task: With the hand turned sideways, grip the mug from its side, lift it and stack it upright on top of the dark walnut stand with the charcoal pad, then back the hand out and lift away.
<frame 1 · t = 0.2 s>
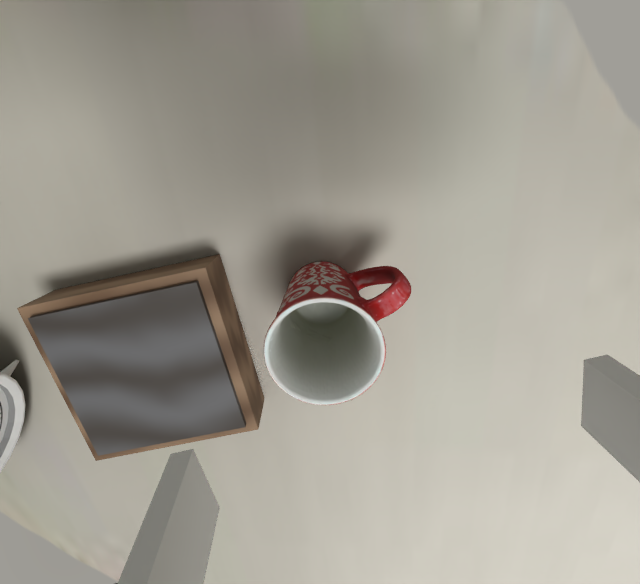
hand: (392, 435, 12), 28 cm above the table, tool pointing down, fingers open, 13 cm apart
mug: (334, 285, 40), on the table
walnut stand: (166, 347, 42), on the table
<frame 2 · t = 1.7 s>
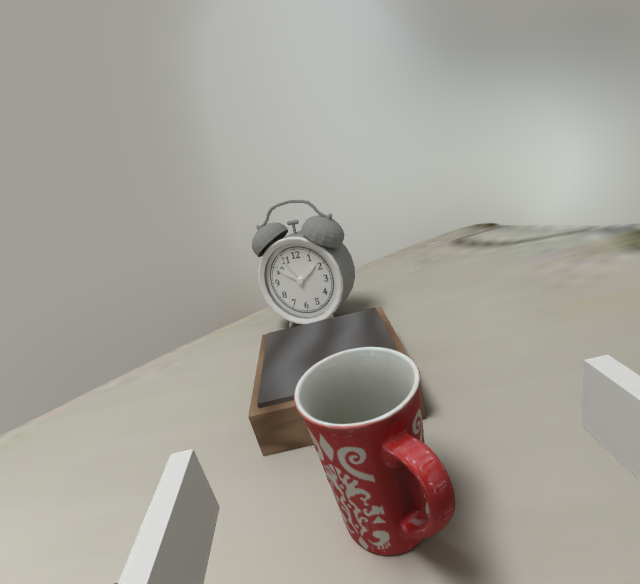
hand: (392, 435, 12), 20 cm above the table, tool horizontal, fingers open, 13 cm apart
alarm clock: (318, 321, 68), on the table
mug: (398, 530, 30), on the table
walnut stand: (335, 387, 48), on the table
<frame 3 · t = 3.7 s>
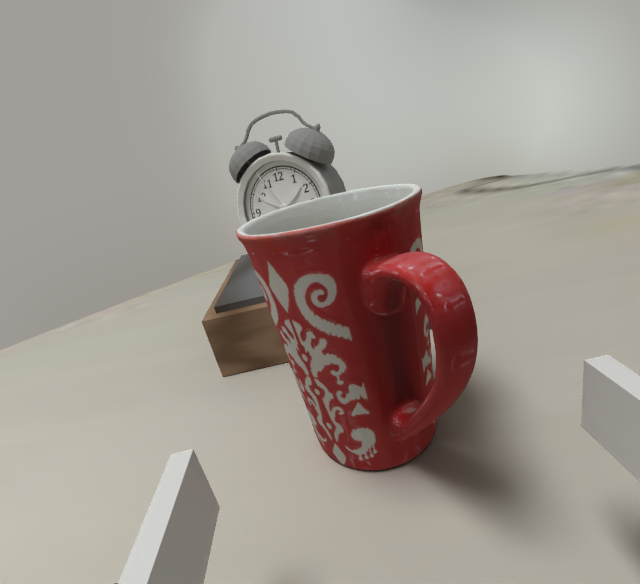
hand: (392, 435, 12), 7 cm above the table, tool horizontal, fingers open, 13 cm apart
alarm clock: (306, 260, 60), on the table
mug: (390, 443, 21), on the table
walnut stand: (319, 310, 40), on the table
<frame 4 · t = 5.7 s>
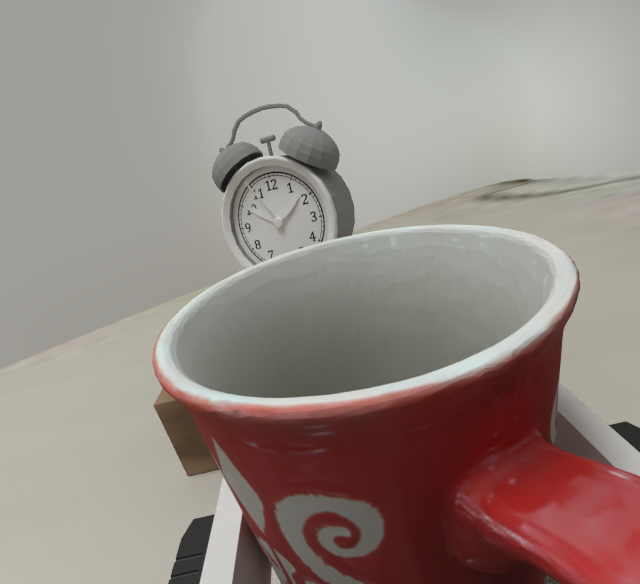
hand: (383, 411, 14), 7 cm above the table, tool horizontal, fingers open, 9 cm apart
alarm clock: (305, 283, 50), on the table
walnut stand: (322, 363, 31), on the table
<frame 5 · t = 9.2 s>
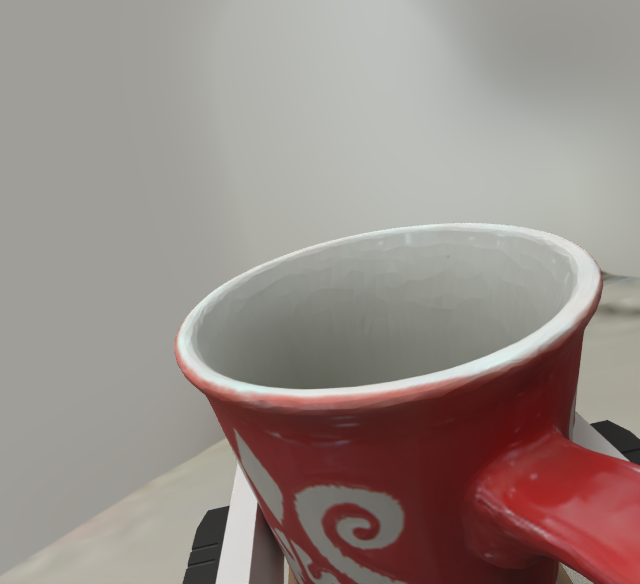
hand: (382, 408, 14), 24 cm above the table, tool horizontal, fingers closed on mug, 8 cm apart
when the fingers open (14 cm above the table, at t = 12.3 s): mug drops 1 cm, resting on walnut stand.
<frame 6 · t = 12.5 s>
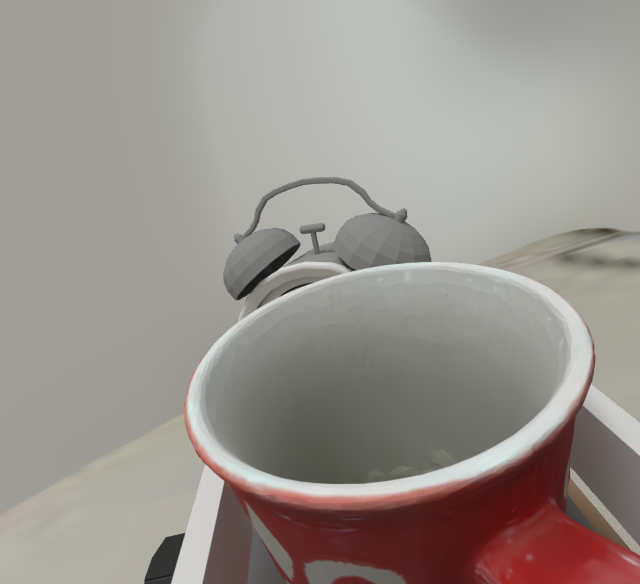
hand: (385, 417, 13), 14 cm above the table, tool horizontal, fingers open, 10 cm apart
alarm clock: (358, 422, 34), on the table
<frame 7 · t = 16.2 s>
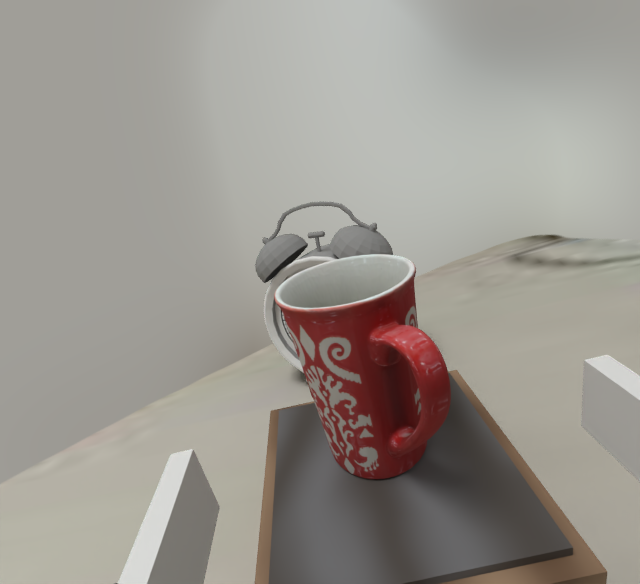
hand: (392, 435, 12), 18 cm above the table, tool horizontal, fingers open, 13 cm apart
alarm clock: (347, 372, 48), on the table
mug: (389, 457, 27), point 6 cm above the table, touching walnut stand
walnut stand: (395, 517, 29), on the table
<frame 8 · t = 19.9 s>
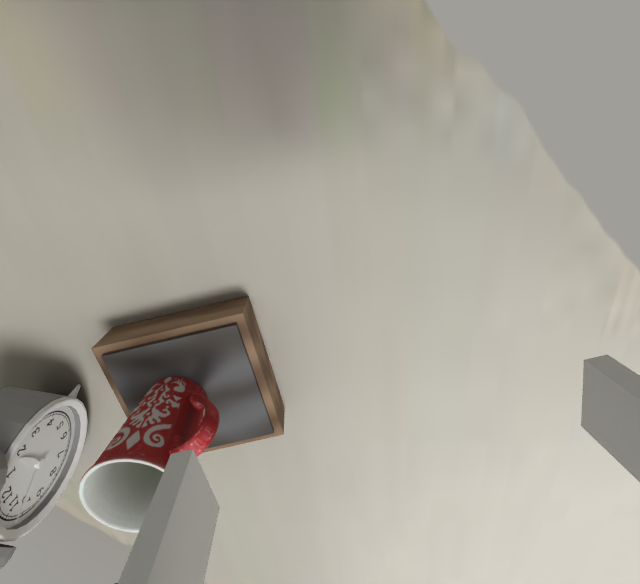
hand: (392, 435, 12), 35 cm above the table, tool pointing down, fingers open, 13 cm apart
alarm clock: (61, 408, 52), on the table
mug: (190, 393, 45), point 6 cm above the table, touching walnut stand
walnut stand: (203, 370, 51), on the table
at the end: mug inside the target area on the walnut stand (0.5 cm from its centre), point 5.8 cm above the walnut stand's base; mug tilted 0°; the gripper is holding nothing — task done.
